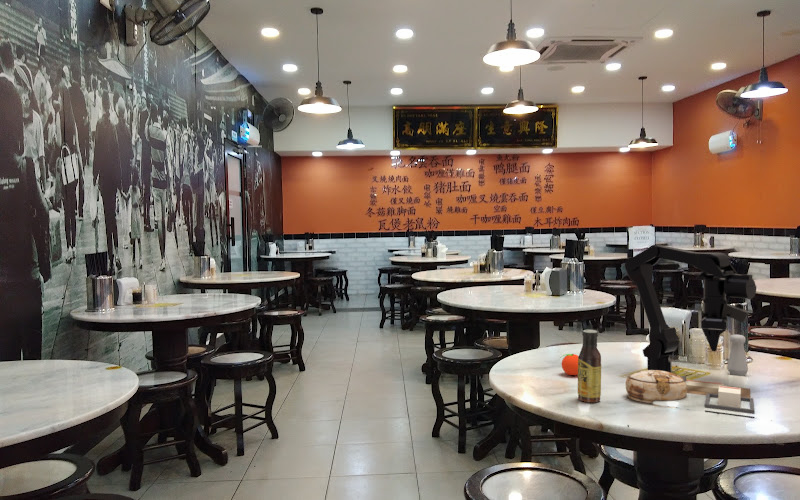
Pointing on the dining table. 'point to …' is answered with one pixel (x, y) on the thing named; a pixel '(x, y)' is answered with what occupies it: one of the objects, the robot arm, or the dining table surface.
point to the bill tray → (729, 406)
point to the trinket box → (655, 386)
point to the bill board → (709, 387)
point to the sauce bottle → (589, 368)
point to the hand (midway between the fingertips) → (714, 347)
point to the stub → (729, 396)
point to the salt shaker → (737, 356)
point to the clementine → (570, 364)
